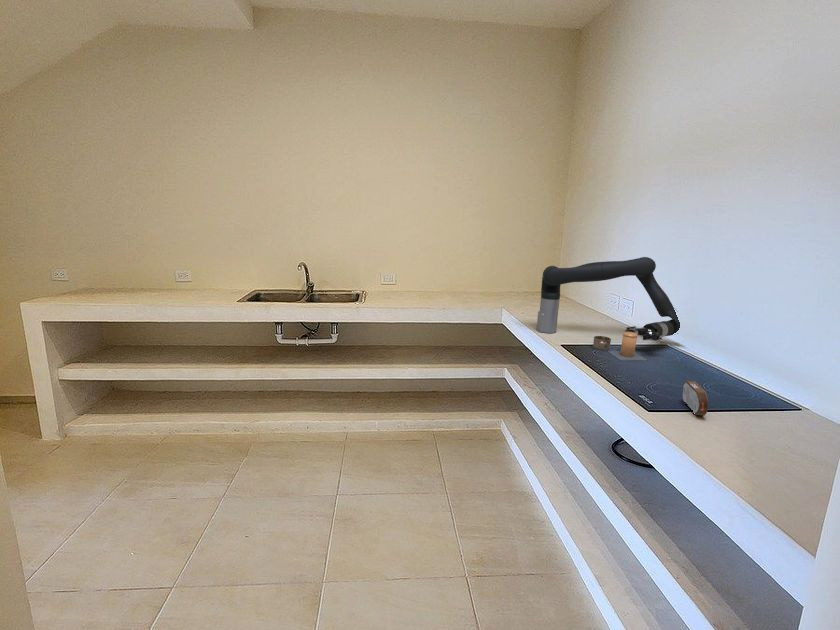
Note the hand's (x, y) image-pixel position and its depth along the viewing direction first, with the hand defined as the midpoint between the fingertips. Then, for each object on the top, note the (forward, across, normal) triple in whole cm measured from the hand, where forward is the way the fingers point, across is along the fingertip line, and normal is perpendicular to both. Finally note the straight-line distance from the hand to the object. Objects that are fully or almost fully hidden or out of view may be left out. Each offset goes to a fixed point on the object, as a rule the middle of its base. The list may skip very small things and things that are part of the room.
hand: (634, 335), depth 207 cm
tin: (+35, +44, +9) cm, 57 cm away
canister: (+3, -13, +9) cm, 16 cm away
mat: (+3, 0, +9) cm, 10 cm away
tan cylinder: (+3, 0, +9) cm, 9 cm away
